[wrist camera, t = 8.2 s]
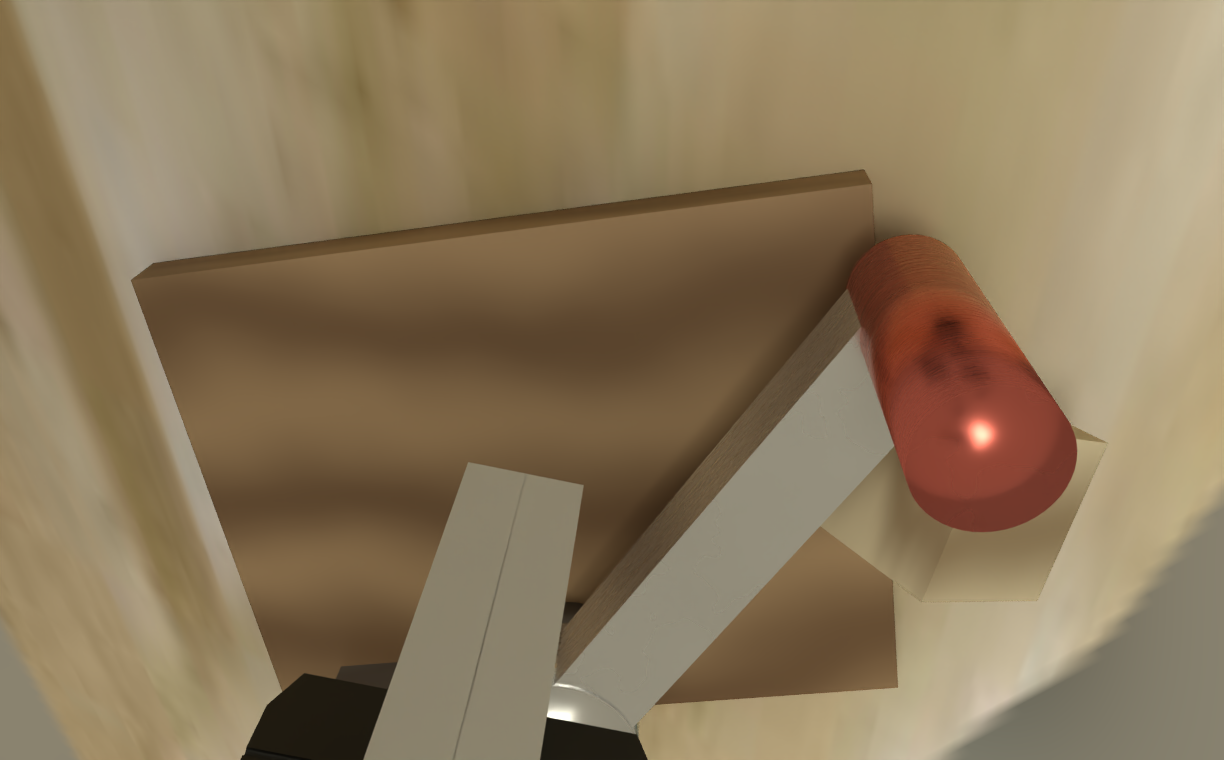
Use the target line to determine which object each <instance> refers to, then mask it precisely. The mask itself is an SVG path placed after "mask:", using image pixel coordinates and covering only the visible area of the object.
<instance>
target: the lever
mask: <svg viewBox="0 0 1224 760" xmlns="http://www.w3.org/2000/svg"><path fill="white" fill-rule="evenodd" d="M894 446H895V449H896V452H897V455H898V458H899V461H900V464H901V467H902V470H903V473H904V475H905V478H906V481H907V484H908V487H909V490H910V492H911V494H912V496H913V498H914V500H915V501H916V502H917V504H918V505H919V506H920V507H921V508H922V509H923V510H924V511H925V512H926V513H927V514H928V515H929V516H931V517H932V518H933V519H935V520H937V521H938V522H940V523H942V524H944V525H947V526H949V527H952V528H955V529H959V530H963V531H970V532H994V531H1000V530H1006V529H1009V528H1013V527H1016V526H1019V525H1021V524H1023V523H1026V522H1028V521H1030V520H1032V519H1034V518H1035V517H1037V516H1039V515H1040V514H1041V513H1043V512H1044V511H1046V510H1047V509H1048V508H1049V507H1050V506H1052V505H1053V504H1054V503H1055V502H1056V501H1057V499H1058V498H1059V497H1060V496H1061V495H1062V493H1063V492H1064V491H1065V489H1066V488H1067V486H1068V484H1069V482H1070V481H1071V479H1072V476H1073V473H1074V471H1075V466H1076V462H1077V442H1076V438H1075V434H1074V431H1073V429H1072V427H1071V424H1070V423H1069V421H1068V420H1067V418H1066V417H1065V415H1064V414H1063V412H1062V411H1061V409H1060V408H1059V406H1058V405H1057V403H1056V402H1055V400H1054V399H1053V397H1052V396H1051V394H1050V393H1049V391H1048V390H1047V388H1046V387H1045V385H1044V384H1043V382H1042V381H1041V379H1040V378H1039V376H1038V375H1037V373H1036V372H1035V370H1034V369H1033V367H1032V366H1031V364H1030V363H1029V361H1028V360H1027V358H1026V357H1025V355H1024V354H1023V352H1022V351H1021V349H1020V348H1019V346H1018V345H1017V343H1016V342H1015V340H1014V339H1013V337H1012V336H1011V334H1010V333H1009V332H1008V330H1007V329H1006V327H1005V326H1004V324H1003V323H1002V321H1001V320H1000V318H999V317H998V315H997V314H996V312H995V311H994V309H993V308H992V306H991V305H990V303H989V302H988V300H987V299H986V297H985V296H984V294H983V293H982V291H981V290H980V288H979V287H978V285H977V284H976V282H975V281H974V279H973V278H972V276H971V275H970V273H969V272H968V270H967V269H966V267H965V266H964V264H963V263H962V261H961V260H960V258H959V257H958V255H957V254H956V253H955V252H954V251H953V250H952V249H951V248H950V247H948V246H947V245H946V244H944V243H942V242H941V241H939V240H936V239H934V238H931V237H927V236H923V235H901V236H897V237H892V238H890V239H887V240H884V241H882V242H880V243H878V244H877V245H875V246H874V247H872V248H871V249H869V250H868V251H867V252H866V253H865V254H864V255H863V256H862V257H861V258H860V259H859V260H858V262H857V263H856V264H855V266H854V267H853V269H852V271H851V273H850V276H849V278H848V281H847V285H846V291H845V292H844V293H843V294H842V296H841V297H840V298H839V299H838V300H837V302H836V303H835V304H834V305H833V306H832V308H831V309H830V310H829V311H828V312H827V314H826V315H825V316H824V317H823V318H822V320H821V321H820V322H819V323H818V324H817V326H816V327H815V328H814V329H813V330H812V332H811V333H810V334H809V335H808V336H807V338H806V339H805V340H804V341H803V342H802V344H801V345H800V346H799V347H798V348H797V350H796V351H795V352H794V353H793V354H792V355H791V357H790V358H789V359H788V360H787V361H786V363H785V364H784V365H783V366H782V367H781V369H780V370H779V371H778V372H777V373H776V375H775V376H774V377H773V378H772V379H771V381H770V382H769V383H768V384H767V385H766V387H765V388H764V389H763V390H762V391H761V393H760V394H759V395H758V396H757V397H756V399H755V400H754V401H753V402H752V403H751V405H750V406H749V407H748V408H747V409H746V411H745V412H744V413H743V414H742V415H741V417H740V418H739V419H738V420H737V421H736V423H735V424H734V425H733V426H732V427H731V429H730V430H729V431H728V432H727V433H726V435H725V436H724V437H723V438H722V439H721V441H720V442H719V443H718V444H717V445H716V447H715V448H714V449H713V450H712V451H711V453H710V454H709V455H708V456H707V457H706V459H705V460H704V461H703V462H702V463H701V465H700V466H699V467H698V468H697V469H696V471H695V472H694V473H693V474H692V475H691V477H690V478H689V479H688V480H687V481H686V483H685V484H684V485H683V486H682V487H681V489H680V490H679V491H678V492H677V493H676V495H675V496H674V497H673V498H672V499H671V501H670V502H669V503H668V504H667V505H666V506H665V508H664V509H663V510H662V511H661V512H660V514H659V515H658V516H657V517H656V518H655V520H654V521H653V522H652V523H651V524H650V526H649V527H648V528H647V529H646V530H645V532H644V533H643V534H642V535H641V536H640V538H639V539H638V540H637V541H636V542H635V544H634V545H633V546H632V547H631V548H630V550H629V551H628V552H627V553H626V554H625V556H624V557H623V558H622V559H621V560H620V562H619V563H618V564H617V565H616V566H615V568H614V569H613V570H612V571H611V572H610V574H609V575H608V576H607V577H606V578H605V580H604V581H603V582H602V583H601V584H600V586H599V587H598V588H597V589H596V590H595V592H594V593H593V594H592V595H591V596H590V598H589V599H588V600H587V601H586V602H585V604H584V605H583V606H582V607H581V608H580V610H579V611H578V612H577V613H576V614H575V616H574V617H573V618H572V619H571V620H570V622H569V623H562V625H561V631H560V637H559V643H558V650H557V656H556V662H555V668H554V675H553V681H552V687H551V694H550V700H549V706H548V712H547V717H550V718H555V719H561V720H566V721H571V722H576V723H581V724H587V725H592V726H597V727H602V728H607V729H612V730H618V731H623V732H628V733H633V734H637V736H638V738H639V721H640V720H641V719H642V717H643V716H644V715H645V714H646V713H647V712H648V711H649V710H650V709H651V708H652V707H653V706H654V705H655V703H656V702H657V701H658V700H659V699H660V698H661V697H662V696H663V695H664V694H665V693H666V692H667V691H668V689H669V688H670V687H671V686H672V685H673V684H674V683H675V682H676V681H677V680H678V679H679V678H680V677H681V675H682V674H683V673H684V672H685V671H686V670H687V669H688V668H689V667H690V666H691V665H692V664H693V663H694V661H695V660H696V659H697V658H698V657H699V656H700V655H701V654H702V653H703V652H704V651H705V650H706V649H707V647H708V646H709V645H710V644H711V643H712V642H713V641H714V640H715V639H716V638H717V637H718V636H719V635H720V633H721V632H722V631H723V630H724V629H725V628H726V627H727V626H728V625H729V624H730V623H731V622H732V621H733V619H734V618H735V617H736V616H737V615H738V614H739V613H740V612H741V611H742V610H743V609H744V608H745V607H746V605H747V604H748V603H749V602H750V601H751V600H752V599H753V598H754V597H755V596H756V595H757V594H758V593H759V591H760V590H761V589H762V588H763V587H764V586H765V585H766V584H767V583H768V582H769V581H770V580H771V579H772V577H773V576H774V575H775V574H776V573H777V572H778V571H779V570H780V569H781V568H782V567H783V566H784V565H785V563H786V562H787V561H788V560H789V559H790V558H791V557H792V556H793V555H794V554H795V553H796V552H797V551H798V549H799V548H800V547H801V546H802V545H803V544H804V543H805V542H806V541H807V540H808V539H809V538H810V537H811V535H812V534H813V533H814V532H815V531H816V530H817V529H818V528H819V527H820V526H821V525H822V524H823V523H824V521H825V520H826V519H827V518H828V517H829V516H830V515H831V514H832V513H833V512H834V511H835V510H836V509H837V507H838V506H839V505H840V504H841V503H842V502H843V501H844V500H845V499H846V498H847V497H848V496H849V495H850V493H851V492H852V491H853V490H854V489H855V488H856V487H857V486H858V485H859V484H860V483H861V482H862V481H863V479H864V478H865V477H866V476H867V475H868V474H869V473H870V472H871V471H872V470H873V469H874V468H875V467H876V465H877V464H878V463H879V462H880V461H881V460H882V459H883V458H884V457H885V456H886V455H887V454H888V453H889V451H890V450H891V449H892V448H893V447H894Z"/></svg>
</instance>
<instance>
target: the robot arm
mask: <svg viewBox="0 0 1224 760" xmlns="http://www.w3.org/2000/svg"><path fill="white" fill-rule="evenodd" d="M583 487H584V485H580V484H575V483H570V482H565V481H560V480H555V479H550V478H545V477H540V476H535V475H530V474H525V473H520V472H515V471H510V470H505V469H500V468H495V467H490V466H485V465H480V464H475V463H470V462H468V464H467V467H466V470H465V473H464V476H463V478H462V481H461V484H460V487H459V490H458V493H457V495H456V498H455V501H454V504H453V507H452V510H451V512H450V515H449V518H448V521H447V524H446V527H445V529H444V532H443V535H442V538H441V541H440V544H439V546H438V549H437V552H436V555H435V558H434V561H433V564H432V566H431V569H430V572H429V575H428V578H427V581H426V583H425V586H424V589H423V592H422V595H421V598H420V600H419V603H418V606H417V609H416V612H415V615H414V617H413V620H412V623H411V626H410V629H409V632H408V634H407V637H406V640H405V643H404V646H403V649H402V651H401V654H400V657H399V660H398V663H397V666H396V669H395V671H394V674H393V677H392V680H391V683H390V686H389V688H388V689H384V688H379V687H374V686H369V685H364V684H359V683H353V682H348V681H343V680H338V679H333V678H327V677H322V676H317V675H312V674H307V673H304V674H303V675H301V676H300V677H299V678H298V679H297V680H296V681H294V682H293V683H292V684H291V685H290V686H289V687H287V688H286V689H285V690H284V691H283V692H282V693H281V694H279V695H278V696H277V697H276V698H275V699H274V700H272V701H271V702H270V703H269V704H268V705H267V706H266V708H265V710H264V712H263V714H262V716H261V719H260V721H259V723H258V725H257V727H256V729H255V731H254V733H253V735H252V737H251V739H250V741H249V743H248V745H247V748H246V752H245V755H243V756H242V758H241V760H648V759H647V757H646V755H645V752H644V750H643V748H642V745H641V743H640V741H639V738H638V736H637V734H633V733H628V732H623V731H618V730H612V729H607V728H602V727H597V726H592V725H587V724H581V723H576V722H571V721H566V720H561V719H555V718H550V717H547V712H548V706H549V700H550V694H551V687H552V681H553V675H554V668H555V662H556V656H557V650H558V643H559V637H560V631H561V625H562V618H563V612H564V606H565V600H566V593H567V587H568V581H569V574H570V568H571V562H572V556H573V549H574V543H575V537H576V531H577V524H578V518H579V512H580V506H581V499H582V493H583Z"/></svg>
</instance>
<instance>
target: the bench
mask: <svg viewBox="0 0 1224 760" xmlns="http://www.w3.org/2000/svg"><path fill="white" fill-rule="evenodd" d="M874 246H875V233H874V214H873V194H872V183H871V181H870V179H869V178H868V176H867V174H866V172H865V170H859V171H851V172H843V173H836V174H828V175H821V176H813V177H805V178H798V179H790V180H783V181H775V182H767V183H760V184H752V185H745V186H737V187H729V188H722V189H714V190H707V191H699V192H691V193H684V194H676V195H669V196H661V197H653V198H646V199H638V200H631V201H623V202H615V203H608V204H600V205H593V206H585V207H577V208H570V209H562V210H555V211H547V212H539V213H532V214H524V215H517V216H509V217H501V218H494V219H486V220H479V221H471V222H463V223H456V224H448V225H441V226H433V227H425V228H418V229H410V230H403V231H395V232H387V233H380V234H372V235H365V236H357V237H349V238H342V239H334V240H327V241H319V242H311V243H304V244H296V245H289V246H281V247H274V248H266V249H258V250H251V251H243V252H236V253H228V254H220V255H213V256H205V257H198V258H190V259H182V260H175V261H167V262H160V263H153V264H152V265H150V266H149V267H148V268H146V269H145V270H144V271H142V272H141V273H140V274H138V275H137V276H136V277H134V278H133V279H132V280H131V282H132V284H133V287H134V290H135V293H136V295H137V298H138V301H139V303H140V306H141V309H142V312H143V314H144V317H145V320H146V322H147V325H148V328H149V331H150V333H151V336H152V339H153V341H154V344H155V347H156V350H157V352H158V355H159V358H160V360H161V363H162V366H163V369H164V371H165V374H166V377H167V379H168V382H169V385H170V388H171V390H172V393H173V396H174V398H175V401H176V404H177V407H178V409H179V412H180V415H181V417H182V420H183V423H184V426H185V428H186V431H187V434H188V436H189V439H190V442H191V445H192V447H193V450H194V453H195V455H196V458H197V461H198V464H199V466H200V469H201V472H202V474H203V477H204V480H205V483H206V485H207V488H208V491H209V493H210V496H211V499H212V502H213V504H214V507H215V510H216V512H217V515H218V518H219V521H220V523H221V526H222V529H223V531H224V534H225V537H226V540H227V542H228V545H229V548H230V550H231V553H232V556H233V559H234V561H235V564H236V567H237V569H238V572H239V575H240V578H241V580H242V583H243V586H244V588H245V591H246V594H247V597H248V599H249V602H250V605H251V607H252V610H253V613H254V616H255V618H256V621H257V624H258V626H259V629H260V632H261V635H262V637H263V640H264V643H265V645H266V648H267V651H268V654H269V656H270V659H271V662H272V664H273V667H274V670H275V673H276V675H277V678H278V681H279V683H280V686H281V689H282V692H283V691H284V690H285V689H286V688H287V687H289V686H290V685H291V684H292V683H293V682H294V681H296V680H297V679H298V678H299V677H300V676H301V675H303V674H304V673H307V674H312V675H317V676H322V677H327V678H333V679H338V680H343V681H348V682H353V683H359V684H364V685H369V686H374V687H379V688H384V689H388V688H389V686H390V683H391V680H392V677H393V674H394V671H395V669H396V666H397V663H398V660H399V657H400V654H401V651H402V649H403V646H404V643H405V640H406V637H407V634H408V632H409V629H410V626H411V623H412V620H413V617H414V615H415V612H416V609H417V606H418V603H419V600H420V598H421V595H422V592H423V589H424V586H425V583H426V581H427V578H428V575H429V572H430V569H431V566H432V564H433V561H434V558H435V555H436V552H437V549H438V546H439V544H440V541H441V538H442V535H443V532H444V529H445V527H446V524H447V521H448V518H449V515H450V512H451V510H452V507H453V504H454V501H455V498H456V495H457V493H458V490H459V487H460V484H461V481H462V478H463V476H464V473H465V470H466V467H467V464H468V462H470V463H475V464H480V465H485V466H490V467H495V468H500V469H505V470H510V471H515V472H520V473H525V474H530V475H535V476H540V477H545V478H550V479H555V480H560V481H565V482H570V483H575V484H580V485H584V487H583V493H582V499H581V506H580V512H579V518H578V524H577V531H576V537H575V543H574V549H573V556H572V562H571V568H570V574H569V581H568V587H567V593H566V600H565V606H564V612H563V618H562V623H569V622H570V620H571V619H572V618H573V617H574V616H575V614H576V613H577V612H578V611H579V610H580V608H581V607H582V606H583V605H584V604H585V602H586V601H587V600H588V599H589V598H590V596H591V595H592V594H593V593H594V592H595V590H596V589H597V588H598V587H599V586H600V584H601V583H602V582H603V581H604V580H605V578H606V577H607V576H608V575H609V574H610V572H611V571H612V570H613V569H614V568H615V566H616V565H617V564H618V563H619V562H620V560H621V559H622V558H623V557H624V556H625V554H626V553H627V552H628V551H629V550H630V548H631V547H632V546H633V545H634V544H635V542H636V541H637V540H638V539H639V538H640V536H641V535H642V534H643V533H644V532H645V530H646V529H647V528H648V527H649V526H650V524H651V523H652V522H653V521H654V520H655V518H656V517H657V516H658V515H659V514H660V512H661V511H662V510H663V509H664V508H665V506H666V505H667V504H668V503H669V502H670V501H671V499H672V498H673V497H674V496H675V495H676V493H677V492H678V491H679V490H680V489H681V487H682V486H683V485H684V484H685V483H686V481H687V480H688V479H689V478H690V477H691V475H692V474H693V473H694V472H695V471H696V469H697V468H698V467H699V466H700V465H701V463H702V462H703V461H704V460H705V459H706V457H707V456H708V455H709V454H710V453H711V451H712V450H713V449H714V448H715V447H716V445H717V444H718V443H719V442H720V441H721V439H722V438H723V437H724V436H725V435H726V433H727V432H728V431H729V430H730V429H731V427H732V426H733V425H734V424H735V423H736V421H737V420H738V419H739V418H740V417H741V415H742V414H743V413H744V412H745V411H746V409H747V408H748V407H749V406H750V405H751V403H752V402H753V401H754V400H755V399H756V397H757V396H758V395H759V394H760V393H761V391H762V390H763V389H764V388H765V387H766V385H767V384H768V383H769V382H770V381H771V379H772V378H773V377H774V376H775V375H776V373H777V372H778V371H779V370H780V369H781V367H782V366H783V365H784V364H785V363H786V361H787V360H788V359H789V358H790V357H791V355H792V354H793V353H794V352H795V351H796V350H797V348H798V347H799V346H800V345H801V344H802V342H803V341H804V340H805V339H806V338H807V336H808V335H809V334H810V333H811V332H812V330H813V329H814V328H815V327H816V326H817V324H818V323H819V322H820V321H821V320H822V318H823V317H824V316H825V315H826V314H827V312H828V311H829V310H830V309H831V308H832V306H833V305H834V304H835V303H836V302H837V300H838V299H839V298H840V297H841V296H842V294H843V293H844V292H845V291H846V285H847V281H848V278H849V276H850V273H851V271H852V269H853V267H854V266H855V264H856V263H857V262H858V260H859V259H860V258H861V257H862V256H863V255H864V254H865V253H866V252H867V251H868V250H869V249H871V248H872V247H874ZM884 688H898V679H897V659H896V640H895V621H894V601H893V582H892V580H891V579H890V578H889V577H887V576H886V575H885V574H883V573H882V572H881V571H879V570H878V569H877V568H875V567H874V566H873V565H871V564H870V563H869V562H867V561H866V560H865V559H863V558H862V557H861V556H859V555H858V554H857V553H855V552H854V551H853V550H851V549H850V548H849V547H847V546H846V545H845V544H843V543H842V542H841V541H839V540H838V539H837V538H835V537H834V536H833V535H831V534H830V533H829V532H827V531H826V530H825V529H823V528H822V527H821V526H820V527H819V528H818V529H817V530H816V531H815V532H814V533H813V534H812V535H811V537H810V538H809V539H808V540H807V541H806V542H805V543H804V544H803V545H802V546H801V547H800V548H799V549H798V551H797V552H796V553H795V554H794V555H793V556H792V557H791V558H790V559H789V560H788V561H787V562H786V563H785V565H784V566H783V567H782V568H781V569H780V570H779V571H778V572H777V573H776V574H775V575H774V576H773V577H772V579H771V580H770V581H769V582H768V583H767V584H766V585H765V586H764V587H763V588H762V589H761V590H760V591H759V593H758V594H757V595H756V596H755V597H754V598H753V599H752V600H751V601H750V602H749V603H748V604H747V605H746V607H745V608H744V609H743V610H742V611H741V612H740V613H739V614H738V615H737V616H736V617H735V618H734V619H733V621H732V622H731V623H730V624H729V625H728V626H727V627H726V628H725V629H724V630H723V631H722V632H721V633H720V635H719V636H718V637H717V638H716V639H715V640H714V641H713V642H712V643H711V644H710V645H709V646H708V647H707V649H706V650H705V651H704V652H703V653H702V654H701V655H700V656H699V657H698V658H697V659H696V660H695V661H694V663H693V664H692V665H691V666H690V667H689V668H688V669H687V670H686V671H685V672H684V673H683V674H682V675H681V677H680V678H679V679H678V680H677V681H676V682H675V683H674V684H673V685H672V686H671V687H670V688H669V689H668V691H667V692H666V693H665V694H664V695H663V696H662V697H661V698H660V699H659V700H658V701H657V702H656V703H655V705H657V704H671V703H686V702H700V701H714V700H728V699H742V698H756V697H771V696H785V695H799V694H813V693H827V692H841V691H856V690H870V689H884Z"/></svg>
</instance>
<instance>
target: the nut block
mask: <svg viewBox="0 0 1224 760" xmlns="http://www.w3.org/2000/svg"><path fill="white" fill-rule="evenodd" d="M1071 427H1072V429H1073V431H1074V434H1075V438H1076V442H1077V462H1076V466H1075V471H1074V473H1073V476H1072V479H1071V481H1070V482H1069V484H1068V486H1067V488H1066V489H1065V491H1064V492H1063V493H1062V495H1061V496H1060V497H1059V498H1058V499H1057V501H1056V502H1055V503H1054V504H1053V505H1052V506H1050V507H1049V508H1048V509H1047V510H1046V511H1044V512H1043V513H1041V514H1040V515H1039V516H1037V517H1035V518H1034V519H1032V520H1030V521H1028V522H1026V523H1023V524H1021V525H1019V526H1016V527H1013V528H1009V529H1006V530H1000V531H994V532H970V531H963V530H959V529H955V528H952V527H949V526H947V525H944V524H942V523H940V522H938V521H937V520H935V519H933V518H932V517H931V516H929V515H928V514H927V513H926V512H925V511H924V510H923V509H922V508H921V507H920V506H919V505H918V504H917V502H916V501H915V500H914V498H913V496H912V494H911V492H910V490H909V487H908V484H907V481H906V478H905V475H904V473H903V470H902V467H901V464H900V461H899V458H898V455H897V452H896V449H895V446H894V447H893V448H892V449H891V450H890V451H889V453H888V454H887V455H886V456H885V457H884V458H883V459H882V460H881V461H880V462H879V463H878V464H877V465H876V467H875V468H874V469H873V470H872V471H871V472H870V473H869V474H868V475H867V476H866V477H865V478H864V479H863V481H862V482H861V483H860V484H859V485H858V486H857V487H856V488H855V489H854V490H853V491H852V492H851V493H850V495H849V496H848V497H847V498H846V499H845V500H844V501H843V502H842V503H841V504H840V505H839V506H838V507H837V509H836V510H835V511H834V512H833V513H832V514H831V515H830V516H829V517H828V518H827V519H826V520H825V521H824V523H823V524H822V525H821V527H822V528H823V529H825V530H826V531H827V532H829V533H830V534H831V535H833V536H834V537H835V538H837V539H838V540H839V541H841V542H842V543H843V544H845V545H846V546H847V547H849V548H850V549H851V550H853V551H854V552H855V553H857V554H858V555H859V556H861V557H862V558H863V559H865V560H866V561H867V562H869V563H870V564H871V565H873V566H874V567H875V568H877V569H878V570H879V571H881V572H882V573H883V574H885V575H886V576H887V577H889V578H890V579H891V580H893V581H894V582H895V583H897V584H898V585H899V586H901V587H902V588H903V589H905V590H906V591H907V592H909V593H910V594H911V595H913V596H914V597H915V598H917V599H918V600H919V601H921V602H985V601H1037V600H1038V598H1039V595H1040V593H1041V591H1042V589H1043V586H1044V584H1045V582H1046V580H1047V578H1048V575H1049V573H1050V571H1051V569H1052V566H1053V564H1054V562H1055V560H1056V558H1057V555H1058V553H1059V551H1060V549H1061V546H1062V544H1063V542H1064V540H1065V538H1066V535H1067V533H1068V531H1069V529H1070V526H1071V524H1072V522H1073V520H1074V518H1075V515H1076V513H1077V511H1078V509H1079V506H1080V504H1081V502H1082V500H1083V498H1084V495H1085V493H1086V491H1087V489H1088V486H1089V484H1090V482H1091V480H1092V478H1093V475H1094V473H1095V471H1096V469H1097V467H1098V464H1099V462H1100V460H1101V458H1102V455H1103V453H1104V451H1105V449H1106V447H1107V444H1108V443H1107V442H1105V441H1102V440H1100V439H1098V438H1096V437H1094V436H1092V435H1090V434H1088V433H1086V432H1084V431H1082V430H1080V429H1078V428H1076V427H1074V426H1072V425H1071Z"/></svg>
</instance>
